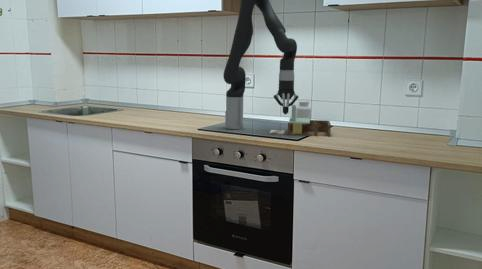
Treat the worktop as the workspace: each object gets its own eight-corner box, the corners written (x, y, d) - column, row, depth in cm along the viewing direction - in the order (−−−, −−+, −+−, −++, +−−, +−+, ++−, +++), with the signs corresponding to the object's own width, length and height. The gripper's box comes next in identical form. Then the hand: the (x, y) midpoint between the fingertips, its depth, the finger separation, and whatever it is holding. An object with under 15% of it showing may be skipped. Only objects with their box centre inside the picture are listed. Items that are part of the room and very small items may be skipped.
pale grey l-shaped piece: (289, 123, 221) (289, 107, 219) (289, 119, 233) (290, 104, 232) (309, 123, 220) (310, 107, 218) (309, 119, 232) (310, 104, 231)
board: (268, 136, 223) (268, 122, 222) (270, 131, 236) (270, 118, 235) (330, 138, 219) (330, 124, 218) (328, 134, 232) (329, 120, 231)
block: (292, 133, 226) (292, 122, 225) (292, 131, 230) (293, 121, 229) (301, 133, 225) (302, 122, 224) (301, 132, 230) (302, 121, 229)
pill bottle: (299, 127, 252) (300, 100, 250) (312, 128, 248) (313, 101, 246) (293, 129, 246) (294, 101, 243) (307, 130, 242) (308, 102, 239)
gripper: (272, 79, 221) (271, 114, 224) (299, 80, 219) (298, 115, 222) (273, 78, 228) (272, 112, 231) (300, 79, 226) (298, 113, 229)
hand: (285, 114), depth 227 cm, fingers closed
